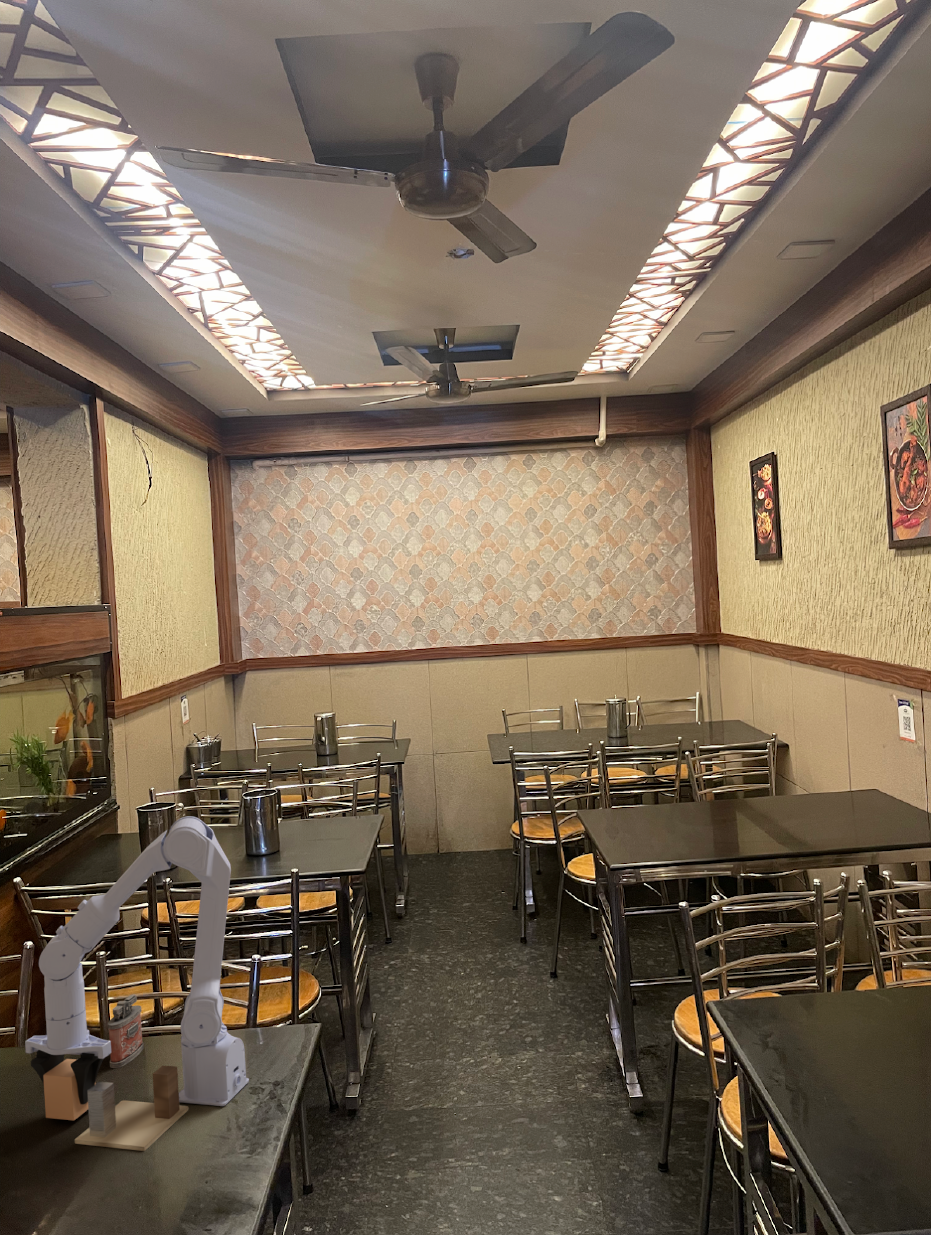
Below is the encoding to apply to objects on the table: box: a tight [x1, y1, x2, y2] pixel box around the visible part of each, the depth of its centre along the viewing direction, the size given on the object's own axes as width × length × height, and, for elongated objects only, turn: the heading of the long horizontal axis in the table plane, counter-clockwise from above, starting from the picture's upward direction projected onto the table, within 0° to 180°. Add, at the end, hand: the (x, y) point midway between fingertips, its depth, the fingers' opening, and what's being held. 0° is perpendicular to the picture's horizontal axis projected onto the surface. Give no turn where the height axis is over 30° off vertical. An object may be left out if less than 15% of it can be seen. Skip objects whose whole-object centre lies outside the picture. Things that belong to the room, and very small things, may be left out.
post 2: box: [152, 1065, 180, 1119], centre depth 136 cm, size 3×3×7 cm
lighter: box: [107, 994, 145, 1069], centre depth 157 cm, size 8×3×10 cm, turn 168°
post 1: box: [87, 1081, 116, 1137], centre depth 132 cm, size 3×3×7 cm
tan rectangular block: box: [43, 1058, 97, 1121], centre depth 138 cm, size 5×5×7 cm
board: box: [74, 1099, 189, 1152], centre depth 134 cm, size 12×11×1 cm
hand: (71, 1099), depth 138 cm, fingers closed on tan rectangular block, 5 cm apart
